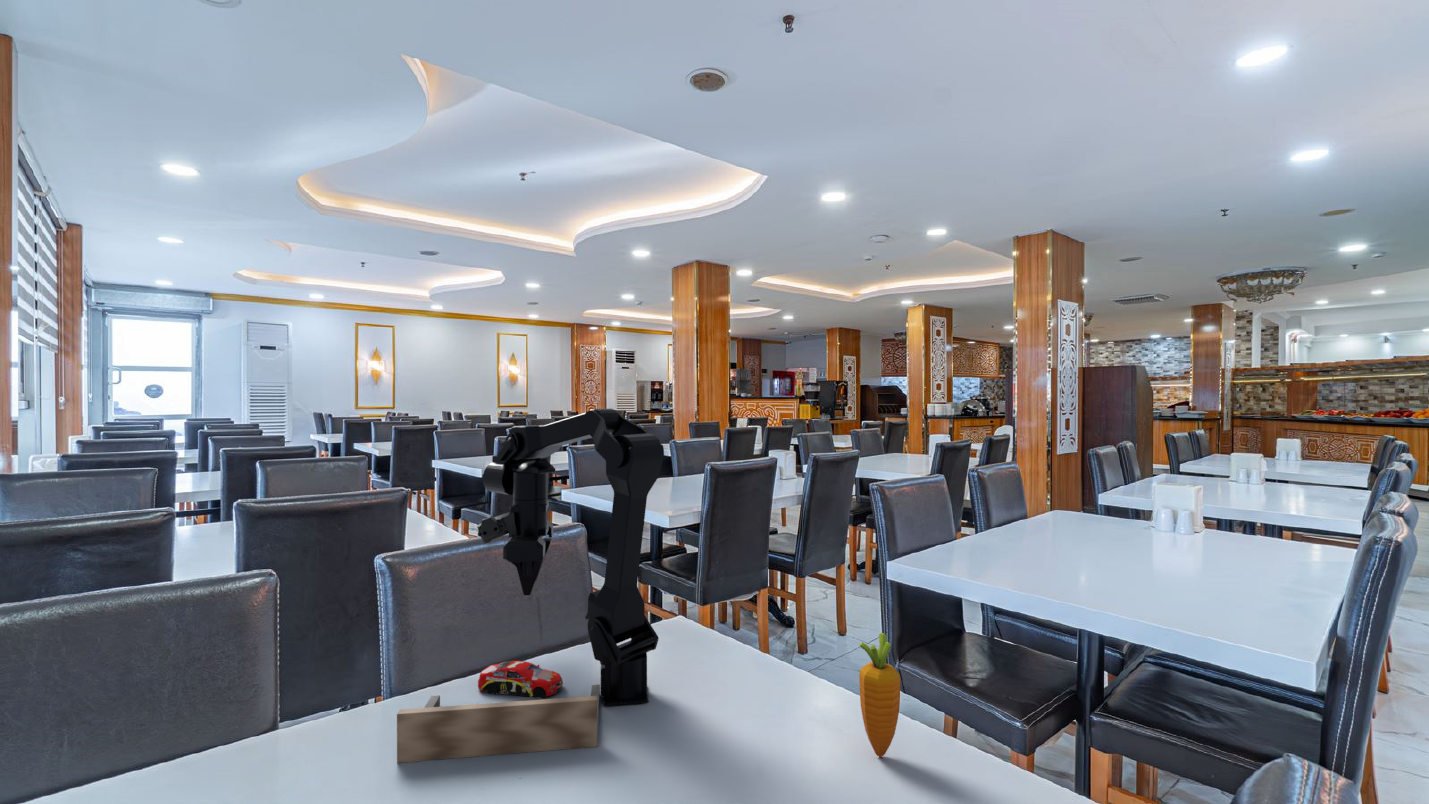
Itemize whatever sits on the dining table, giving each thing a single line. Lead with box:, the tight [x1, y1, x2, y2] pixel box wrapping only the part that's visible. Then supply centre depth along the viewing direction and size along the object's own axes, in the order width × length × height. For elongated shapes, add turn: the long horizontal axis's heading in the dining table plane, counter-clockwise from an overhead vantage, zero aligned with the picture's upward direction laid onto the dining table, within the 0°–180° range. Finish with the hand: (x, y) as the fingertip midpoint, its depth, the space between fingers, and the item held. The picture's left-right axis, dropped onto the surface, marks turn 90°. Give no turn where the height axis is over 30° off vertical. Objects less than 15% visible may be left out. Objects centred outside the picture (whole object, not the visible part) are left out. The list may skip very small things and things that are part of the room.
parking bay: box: [396, 684, 601, 764], centre depth 89 cm, size 24×15×6 cm, turn 99°
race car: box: [477, 660, 564, 700], centre depth 100 cm, size 13×5×4 cm, turn 78°
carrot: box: [858, 632, 901, 758], centre depth 81 cm, size 5×5×15 cm
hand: (530, 588), depth 112 cm, fingers open, 8 cm apart
